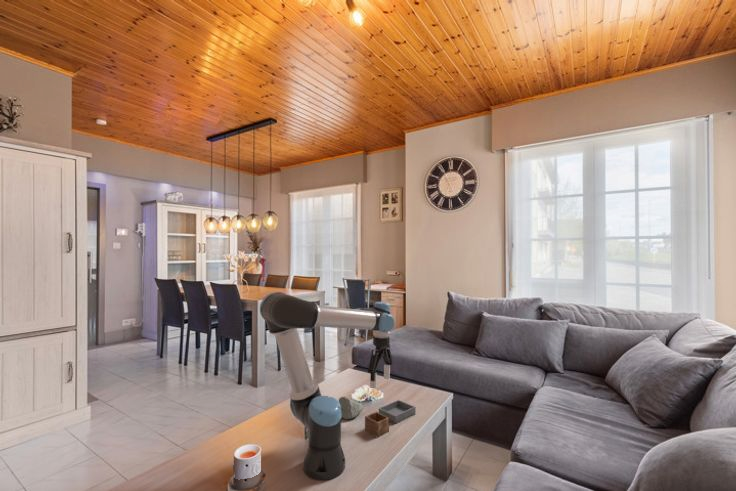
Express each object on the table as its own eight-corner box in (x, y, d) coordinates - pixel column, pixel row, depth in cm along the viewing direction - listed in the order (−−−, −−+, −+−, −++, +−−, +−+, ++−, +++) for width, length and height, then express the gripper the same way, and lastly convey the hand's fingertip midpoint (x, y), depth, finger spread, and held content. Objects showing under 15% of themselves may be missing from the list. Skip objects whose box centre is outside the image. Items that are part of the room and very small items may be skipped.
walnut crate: (377, 437, 145) (377, 423, 146) (364, 430, 151) (365, 416, 151) (389, 431, 150) (389, 417, 150) (376, 424, 156) (376, 411, 156)
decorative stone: (340, 423, 157) (354, 405, 157) (329, 407, 165) (342, 389, 166) (357, 428, 165) (369, 411, 166) (345, 412, 173) (358, 396, 174)
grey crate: (395, 424, 157) (395, 416, 157) (378, 415, 165) (378, 408, 165) (415, 414, 167) (415, 406, 167) (398, 406, 175) (398, 399, 175)
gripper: (376, 343, 144) (374, 394, 143) (399, 332, 166) (398, 376, 165) (360, 340, 148) (359, 390, 147) (385, 330, 170) (384, 373, 169)
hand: (380, 383), depth 156 cm, fingers open, 13 cm apart
